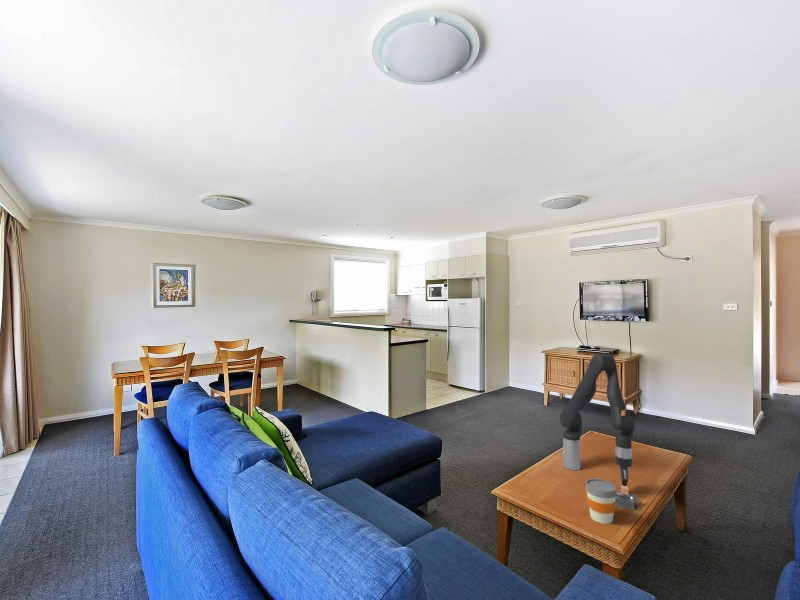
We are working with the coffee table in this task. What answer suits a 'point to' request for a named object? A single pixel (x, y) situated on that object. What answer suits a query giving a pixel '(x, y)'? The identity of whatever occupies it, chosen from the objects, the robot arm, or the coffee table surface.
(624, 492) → the salmon pink block
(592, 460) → the coffee table surface
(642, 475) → the coffee table surface
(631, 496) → the arm
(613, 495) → the reusable coffee cup
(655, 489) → the coffee table surface
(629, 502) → the tongs jaw
